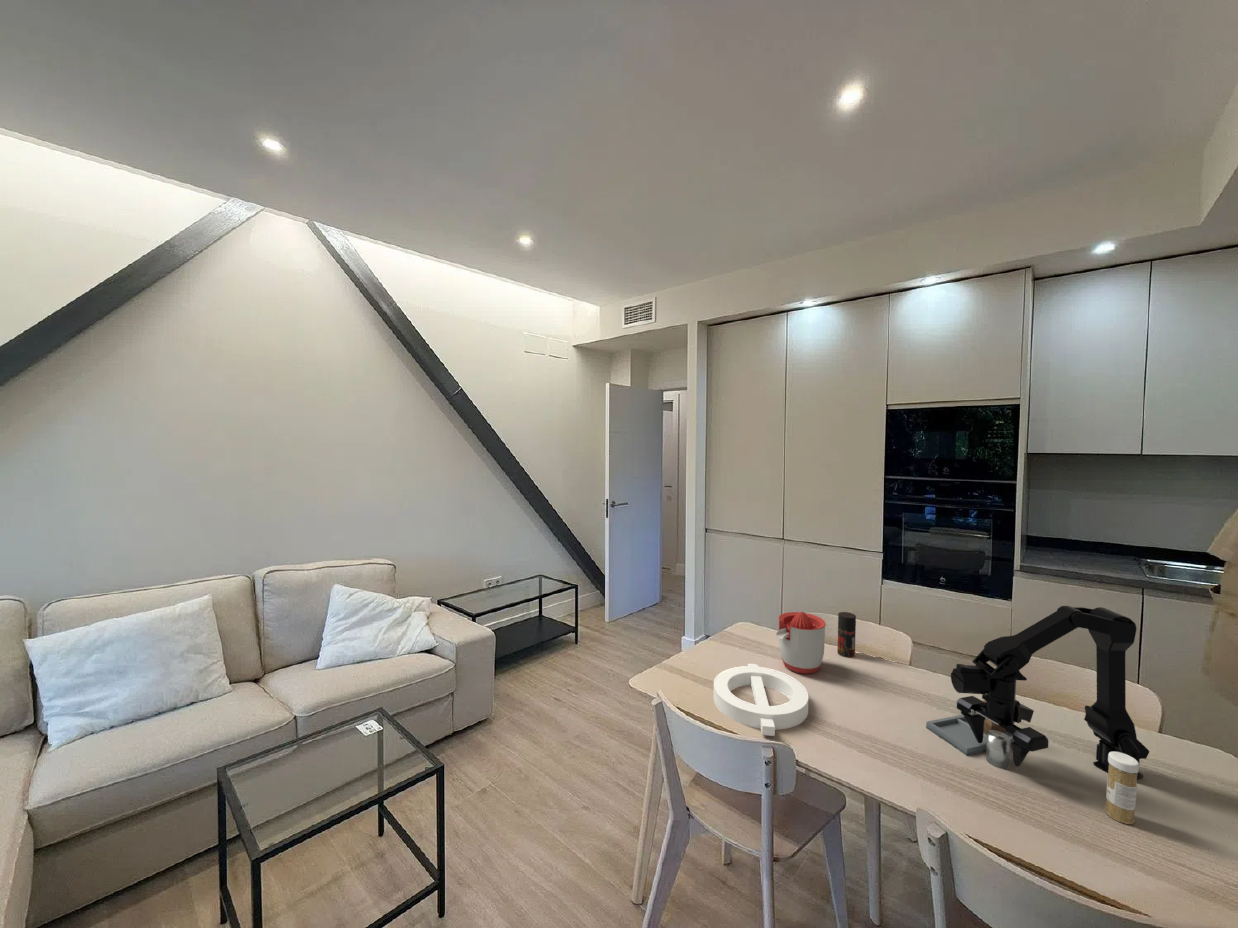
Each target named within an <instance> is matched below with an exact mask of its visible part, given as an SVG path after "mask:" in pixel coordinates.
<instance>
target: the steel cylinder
mask: <svg viewBox="0 0 1238 928" xmlns="http://www.w3.org/2000/svg"><path fill="white" fill-rule="evenodd" d="M1010 753H1011V746H1010V737H1009V736H1008V735H1006V734H1004V733H1002V732H1000V731H996V730H989V731H987V744H986V751H985V760H986V762H987V763H988V764H990V765H992V766H993V767H995V768H998V769H1003V770H1007V769H1009V768H1010V758H1011V757H1010V755H1011V754H1010Z"/></svg>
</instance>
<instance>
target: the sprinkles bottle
mask: <svg viewBox="0 0 1238 928" xmlns="http://www.w3.org/2000/svg"><path fill="white" fill-rule="evenodd" d="M1108 762H1109V770H1108V772H1107V780H1106V781H1107V782H1106V793H1105V794H1106V795H1105V796H1106V800H1105V807H1104V812H1105V813H1106V814H1107V815H1108V817H1110V818H1111V819H1113V820H1115V821H1117V822H1119V823H1122V824H1126V825H1134V823H1135V821H1136V820H1135V809H1136V801H1137V790H1138V789H1137V788H1138V787H1137V786H1138V785H1137V784H1138V783H1137V781H1138V779H1137V774H1138V772H1139V773H1140V762H1139V763H1138V761H1137V760H1136V759H1134V758H1133V757H1131V756H1129V755H1126V754H1124V753H1120V752H1109V754H1108Z"/></svg>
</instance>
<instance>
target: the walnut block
mask: <svg viewBox="0 0 1238 928" xmlns="http://www.w3.org/2000/svg"><path fill="white" fill-rule="evenodd" d="M981 700H982V701H983V702H985V703H986V700H984V699H981ZM989 730H996V731H1000V732H1002V733H1004V734H1005V728H1003V727H1001V726H1000V725H997V724H995V723H994V722H992V721H990V720H989V719H987V718H986V719H985V721H984V733H985V734H987V731H989Z"/></svg>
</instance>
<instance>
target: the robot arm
mask: <svg viewBox="0 0 1238 928" xmlns="http://www.w3.org/2000/svg"><path fill="white" fill-rule="evenodd" d="M1079 628H1081V629H1086V630H1088V633H1089V635H1090V636H1091V637H1092V640H1093V641H1094V643H1095V647H1096V655H1095V656H1096V701H1095V702H1094V703H1093V704H1092V705H1084V711H1085V714H1084V715H1085V716H1084V718H1083V720H1084V721H1085V722H1086V723H1087V726H1088V727H1089V729H1091V730H1092V733H1093V735H1094V736H1095V737H1097V739H1099V741H1098V744H1097V743H1096V751H1095V752H1096V753H1095V760H1096V761H1093V765H1094V767H1097V768H1099V769H1101V770H1102V771H1104V772H1106V773H1108V770H1109V762H1108V754H1109V752H1120V753H1124V754H1126V755H1129V756H1131V757H1133V758H1134V759H1136V760H1137V761H1138V763H1139V764H1140V762H1141V761H1140V760H1141V759H1143V760H1145V759H1147V758H1148V756H1149V754H1150V750H1149V749H1148V748H1147V747H1146V746H1145V745H1144V744H1143V743H1142V742H1141V741H1140V740H1138V738H1137V731H1136V727H1135V723H1134V722H1133V719H1132V718H1131V716H1130V714H1129V713H1128V711H1127V707H1126V696H1127V695H1126V690H1127V689H1126V688H1127V687H1126V681H1127V680H1126V678H1127V677H1126V651H1128V649H1129V648H1131V646H1133V644H1134V643H1135V639H1136V634H1137V624H1136V623H1135V622H1134V621H1133V620H1132V619H1131V618H1129V617H1128V616H1125V615H1122V614H1120V613H1117V612H1115V611H1112V610H1110V609H1108V608H1106V607H1100V606H1099V607H1095V608H1088V607H1084V606H1071V605H1061V606H1059V607H1058V608H1057V610H1056V611H1054V612H1053V613H1051V614H1049V615H1047V616H1045V617H1044V618H1042V619H1040V620H1039V621H1037V622H1035V623H1033V624H1032V625H1030V626H1028V627H1027V628H1025V629H1024V630H1022V631H1020V632H1018V633H1017V634H1014V635H1006V636H1000V637H998V638H995V639H992V640H989V641H988V642H986V643H985V644H984V646H983V648H982V650H981V651H980V652H979V653H978V654H977V656H975V658H974V659H973V660H972V663H973V664H974V665H970V664H962V663H956V665H955V666H956V668H953V669H952V671H951V673H950V681H951V684H952V687H953V689H954V690H955V691H956V692H957V693H958V694H969V695H970V696H969V695H968V696H963V697H959V698H957V701H956V709H957V710H959V711H960V715H964V717H965V719H966V720H967V722H968V724H969V726H970V728H971V729H972V732H973V734H974V736H975V738H976V740H977V742H978V743H982V741H983V733H984V721H985V719H986V718H987V719H989V720H990V721H992V722H994V723H995V724H997V725H1000V726H1001V727H1003V728H1005V729H1006V730H1008V731H1010V732H1012V733H1013V740H1014V741H1015V742H1011V744H1012V746H1011V752H1012V761H1013V765H1014V767H1016V768H1018V767H1020V766H1021V765H1022V764H1023V761H1024V760H1025V759H1026V758H1027V755H1028V754H1029V752H1036V751H1041V750H1045V749H1048V748H1049V739H1048V737H1047V736H1046V735H1045V734H1044V733H1041V732H1040V731H1038V730H1036V729H1034V728H1032V727H1031V726H1027V727H1024V728H1022V727H1019V726H1017V725H1016V724H1015V723H1017V724H1020V723H1022V721H1025V722H1027V723H1031V722H1032V718H1033V715H1034V712H1035V710H1034V709H1032V708H1030V707H1029V706H1026V705H1024V704H1022V703H1021V702H1020V701H1019V700H1017V699H1016V694H1017V681H1023V682H1024V681H1027V680H1028V679H1027V677H1026V676H1025V675H1024V674H1023V673H1022V672H1020V671H1021V670H1022V669H1023V668H1024V667H1025V666H1027V665H1028V664H1029V663H1030V661H1031V658H1032V656H1033V655H1034V654H1035V653H1037V652H1038V651H1039V650H1041V649H1043V648H1045V647H1046V646H1049V645H1050V644H1051V643H1054V642H1056V641H1057V640H1059V639H1061V638H1062V637H1064V636H1066V635H1067V634H1069V633H1071V632H1073V631H1075V630H1077V629H1079ZM988 662H990V663H991V664H992V665H994V667H995V668H994V667H993V666H992V665H990V664H989V663H988ZM971 694H973V695H971ZM974 695H981V699H979V698H978V697H976V696H974ZM982 700H986V703H985V702H983V701H982ZM1142 778H1144V775H1143V774H1142V773H1141V772H1140V771H1139V772H1138V774H1137V780H1138V779H1142Z"/></svg>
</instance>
